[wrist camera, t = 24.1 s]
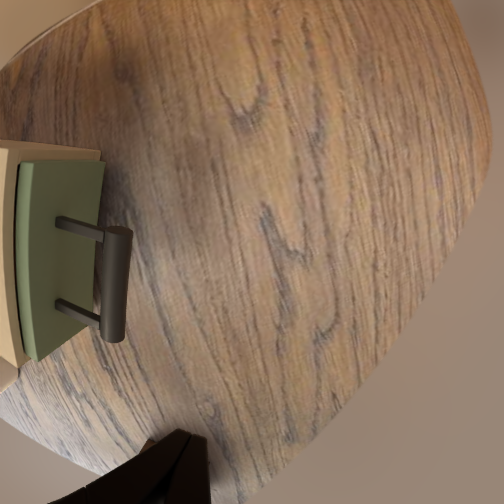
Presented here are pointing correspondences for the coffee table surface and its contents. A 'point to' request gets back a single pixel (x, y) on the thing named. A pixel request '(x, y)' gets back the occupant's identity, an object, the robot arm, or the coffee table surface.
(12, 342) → the cabinet
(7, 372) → the can
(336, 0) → the coffee table surface
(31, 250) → the drawer
